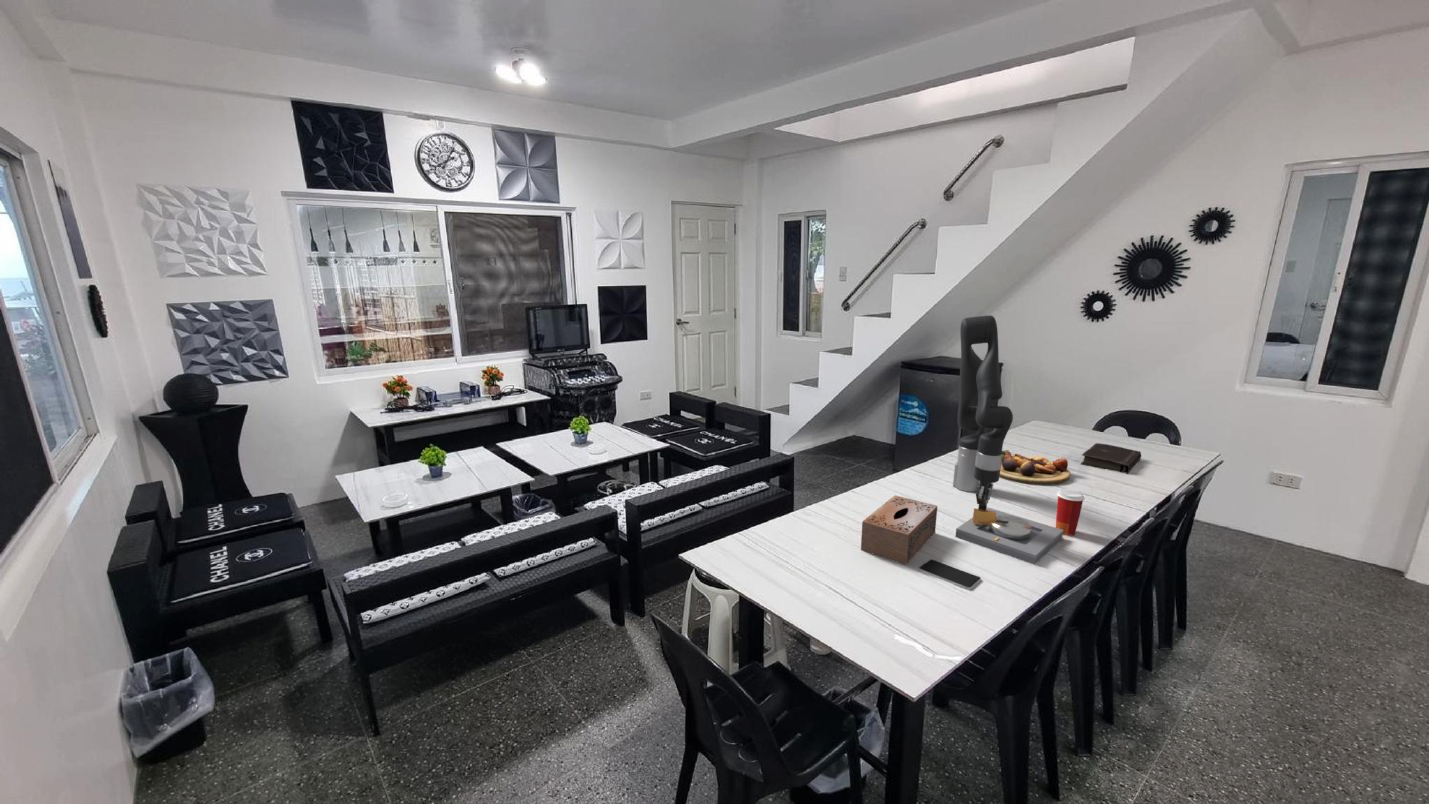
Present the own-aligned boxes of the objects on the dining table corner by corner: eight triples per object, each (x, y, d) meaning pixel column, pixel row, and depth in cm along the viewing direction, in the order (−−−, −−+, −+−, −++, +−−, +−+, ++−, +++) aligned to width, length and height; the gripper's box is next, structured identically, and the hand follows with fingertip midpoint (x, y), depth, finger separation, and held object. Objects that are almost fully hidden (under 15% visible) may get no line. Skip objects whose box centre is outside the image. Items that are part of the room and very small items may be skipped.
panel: (955, 536, 185) (956, 527, 184) (986, 515, 201) (987, 506, 200) (1034, 564, 168) (1035, 554, 167) (1062, 538, 183) (1063, 529, 182)
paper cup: (1075, 528, 190) (1081, 489, 187) (1081, 538, 183) (1088, 498, 180) (1049, 525, 193) (1054, 486, 189) (1054, 535, 186) (1060, 495, 182)
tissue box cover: (906, 565, 168) (908, 534, 166) (860, 550, 177) (862, 521, 175) (935, 533, 188) (937, 505, 186) (892, 522, 197) (894, 495, 194)
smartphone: (930, 558, 171) (981, 577, 160) (930, 562, 171) (981, 581, 160) (917, 568, 165) (969, 588, 155) (917, 571, 166) (969, 592, 155)
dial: (1027, 526, 187) (1029, 509, 185) (1032, 542, 176) (1035, 525, 175) (971, 518, 193) (973, 502, 192) (973, 534, 182) (975, 516, 181)
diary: (1140, 461, 255) (1142, 451, 253) (1128, 476, 238) (1130, 464, 236) (1092, 451, 267) (1094, 441, 266) (1077, 464, 250) (1079, 454, 249)
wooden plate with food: (1071, 467, 247) (1073, 449, 245) (1069, 491, 221) (1071, 471, 219) (990, 456, 264) (991, 439, 262) (979, 477, 237) (981, 458, 236)
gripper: (995, 474, 177) (989, 524, 181) (1005, 462, 187) (998, 510, 191) (970, 468, 181) (964, 518, 186) (980, 457, 191) (975, 504, 196)
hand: (981, 514), depth 189 cm, fingers closed
